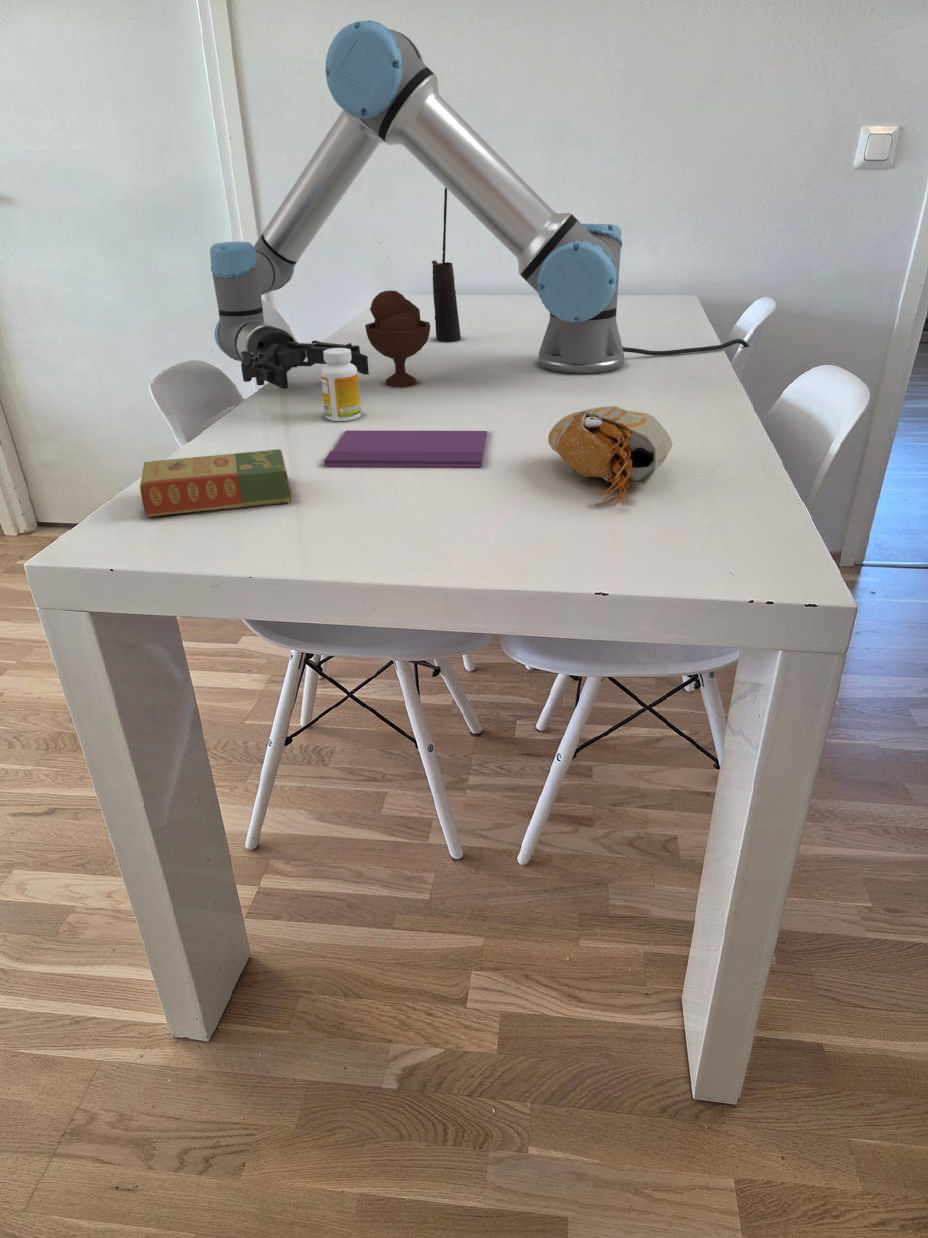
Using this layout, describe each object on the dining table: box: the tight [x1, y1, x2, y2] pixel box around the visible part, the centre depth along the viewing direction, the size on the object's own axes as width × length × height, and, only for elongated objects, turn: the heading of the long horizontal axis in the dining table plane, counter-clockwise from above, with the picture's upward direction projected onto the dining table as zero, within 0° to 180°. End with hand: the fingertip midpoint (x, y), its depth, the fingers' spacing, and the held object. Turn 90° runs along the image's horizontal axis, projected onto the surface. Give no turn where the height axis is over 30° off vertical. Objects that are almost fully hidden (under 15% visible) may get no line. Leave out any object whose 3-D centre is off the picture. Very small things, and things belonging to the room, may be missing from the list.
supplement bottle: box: [320, 348, 362, 422], centre depth 124 cm, size 5×5×10 cm
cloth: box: [324, 430, 488, 468], centre depth 112 cm, size 20×14×1 cm
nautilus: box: [547, 405, 674, 507], centre depth 98 cm, size 8×22×15 cm
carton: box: [139, 448, 293, 518], centre depth 97 cm, size 8×16×4 cm, turn 105°
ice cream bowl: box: [365, 290, 432, 388], centre depth 139 cm, size 11×11×15 cm
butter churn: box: [431, 187, 462, 343], centre depth 167 cm, size 9×10×28 cm
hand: (326, 372), depth 126 cm, fingers open, 13 cm apart
